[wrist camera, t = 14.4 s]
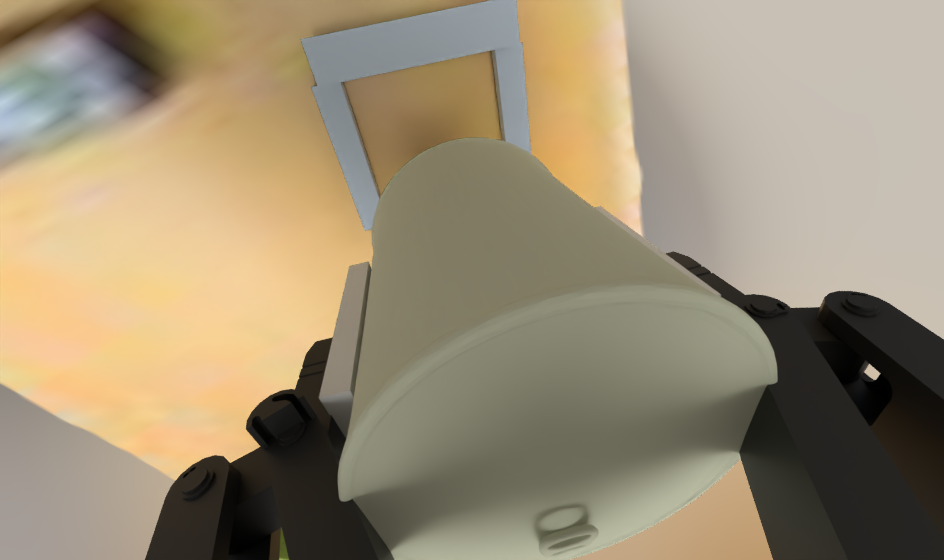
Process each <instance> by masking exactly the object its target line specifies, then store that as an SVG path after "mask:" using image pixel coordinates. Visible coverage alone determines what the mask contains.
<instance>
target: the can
mask: <svg viewBox="0 0 944 560" xmlns="http://www.w3.org/2000/svg"><path fill="white" fill-rule="evenodd" d="M372 245H373V260H372V269H371V277H370V285H369V293H368V300H367V308H366V316H365V324H364V331H363V338H362V345H361V352H360V358H359V365H358V372H357V379H356V386H355V392H354V399H353V406H352V412H351V419H350V424H349V429H348V434H347V439H346V442H345V445H344V448H343V451H342V455H341V458H340V462H339V469H338V492H339V499H340V500H341V501H344V502H345V501H349V500H351V499H353V500H354V501H355V503H356V504H357V505H358V507H359V508H360V509H361V511H362V512H363V513H364V515H365V516H366V517H367V519H368V520H369V522H370V523H371V524H372V526H373V527H374V529H375V530H376V531H377V533H378V534H379V536H380V537H381V538H382V540H383V541H384V543H385V544H386V545H387V547H388V548H389V550H390V551H391V553H392V555H393V558H394V560H570V559H573V558H577V557H580V556H583V555H586V554H589V553H592V552H595V551H598V550H600V549H604V548H606V547H609V546H611V545H614V544H616V543H618V542H621V541H623V540H626V539H628V538H630V537H632V536H634V535H636V534H638V533H640V532H642V531H644V530H646V529H648V528H650V527H652V526H653V525H655V524H657V523H659V522H661V521H662V520H664V519H666V518H668V517H670V516H671V515H673V514H674V513H676V512H677V511H679V510H680V509H682V508H684V507H685V506H687V505H688V504H689V503H691V502H692V501H694V500H695V499H696V498H698V497H699V496H701V495H702V494H703V493H704V492H705V491H707V490H708V489H709V488H710V487H711V486H713V485H714V484H715V483H716V482H718V481H719V480H720V479H721V478H722V477H723V476H724V475H725V474H726V473H727V472H728V471H729V470H730V469H731V468H732V467H733V466H734V465H735V464H736V463H737V462H738V461H739V460H740V458H741V457H740V454H739V452H740V449H741V446H742V443H743V440H744V437H745V435H746V432H747V430H748V427H749V425H750V422H751V420H752V417H753V415H754V413H755V410H756V408H757V406H758V403H759V401H760V399H761V397H762V395H763V392H764V390H765V388H766V386H767V385H768V384H769V385H770V384H774V383H776V382H777V380H778V378H777V363H776V359H775V354H774V350H773V348H772V346H771V344H770V342H769V339H768V338H767V336H766V335H765V333H764V332H763V330H762V329H761V328H760V326H759V325H758V324H757V323H756V322H755V321H754V320H753V319H752V318H751V317H750V316H749V315H748V314H747V313H746V312H744V311H743V310H742V309H740V308H739V307H737V306H736V305H734V304H732V303H731V302H729V301H727V300H725V299H724V298H722V297H720V296H718V295H715V294H713V293H712V292H710V291H708V290H707V289H705V288H704V287H702V286H701V285H699V284H698V283H696V282H695V281H693V280H692V279H691V278H689V277H688V276H686V275H685V274H684V273H682V272H681V271H679V270H678V269H677V268H675V267H674V266H672V265H671V264H669V263H668V262H667V261H665V260H664V259H662V258H661V257H660V256H658V255H657V254H656V253H654V252H653V251H652V250H650V249H649V248H648V247H646V246H645V245H644V244H642V243H641V242H639V241H638V240H637V239H635V238H634V237H633V236H631V235H630V234H629V233H627V232H626V231H625V230H623V229H622V228H621V227H619V226H618V225H617V224H615V223H614V222H613V221H611V220H610V219H609V218H607V217H606V216H604V215H603V214H602V213H600V212H599V211H598V210H596V209H595V208H594V207H592V206H591V205H590V204H588V203H587V202H586V201H584V200H583V199H582V198H580V197H579V196H578V195H576V194H575V193H574V192H573V191H571V190H570V189H569V188H567V187H566V186H565V185H564V184H562V183H561V182H560V181H559V180H557V179H556V178H555V177H553V176H552V174H551V173H550V171H549V170H548V169H547V168H546V167H545V166H544V165H543V164H542V163H541V162H540V161H539V160H538V159H537V158H536V157H534V156H533V155H532V154H530V153H529V152H527V151H525V150H524V149H522V148H520V147H518V146H516V145H513V144H511V143H508V142H505V141H501V140H497V139H491V138H481V137H471V138H462V139H456V140H451V141H447V142H444V143H441V144H439V145H436V146H434V147H431V148H429V149H427V150H425V151H424V152H422V153H420V154H419V155H417V156H416V157H414V158H413V159H411V160H410V161H409V162H408V163H407V164H405V165H404V166H403V167H402V168H401V169H400V170H399V171H398V172H397V173H396V175H395V176H394V177H393V178H392V179H391V181H390V182H389V184H388V185H387V187H386V188H385V190H384V192H383V193H382V195H381V197H380V200H379V202H378V205H377V208H376V211H375V215H374V219H373V226H372Z"/></svg>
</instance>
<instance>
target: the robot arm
mask: <svg viewBox="0 0 944 560" xmlns="http://www.w3.org/2000/svg"><path fill="white" fill-rule="evenodd" d="M595 209H596V210H598V211H599V212H600V213H602V214H603V215H604V216H606V217H607V218H609V219H610V220H611V221H613V222H614V223H615V224H617V225H618V226H619V227H621V228H622V229H623V230H625V231H626V232H627V233H629V234H630V235H631V236H633V237H634V238H635V239H637V240H638V241H639V242H641V243H642V244H644V245H645V246H646V247H648V248H649V249H650V250H652V251H653V252H654V253H656V254H657V255H658V256H660V257H661V258H662V259H664V260H665V261H667V262H668V263H669V264H671V265H672V266H674V267H675V268H677V269H678V270H679V271H681V272H682V273H684V274H685V275H686V276H688V277H689V278H691V279H692V280H693V281H695V282H696V283H698V284H699V285H701V286H702V287H704V288H705V289H707V290H708V291H710V292H712V293H713V294H715V295H718V296H720V297H722V298H724V299H725V300H727V301H729V302H731V303H732V304H734V305H736V306H737V307H739V308H740V309H742V310H743V311H744V312H746V313H747V314H748V315H749V316H750V317H751V318H752V319H753V320H754V321H755V322H756V323H757V324H758V325H759V326H760V328H761V329H762V330H763V332H764V333H765V335H766V336H767V338H768V339H769V342H770V344H771V346H772V348H773V350H774V354H775V359H776V363H777V378H778V380H777V382H776V383H774V384H770V385H769V384H768V385H767V386H766V388H765V390H764V392H763V395H762V397H761V399H760V401H759V403H758V406H757V408H756V410H755V413H754V415H753V417H752V420H751V422H750V425H749V427H748V430H747V432H746V435H745V437H744V440H743V443H742V446H741V449H740V452H739V454H740V457H741V461H742V464H743V466H744V470H745V473H746V476H747V479H748V482H749V485H750V489H751V492H752V495H753V498H754V501H755V504H756V507H757V510H758V513H759V517H760V520H761V523H762V526H763V529H764V532H765V535H766V538H767V542H768V545H769V548H770V551H771V554H772V557H773V560H944V339H942V338H941V337H939V336H937V335H936V334H934V333H933V332H931V331H930V330H928V329H927V328H925V327H924V326H922V325H921V324H919V323H918V322H916V321H915V320H913V319H912V318H910V317H909V316H907V315H906V314H904V313H903V312H901V311H900V310H898V309H897V308H895V307H894V306H892V305H891V304H889V303H887V302H885V301H883V300H881V299H879V298H877V297H874V296H871V295H868V294H865V293H860V292H853V291H837V292H833V293H829V294H828V295H827V296H826V297H825V298H824V300H823V302H822V304H821V306H820V307H818V308H817V307H816V308H790V307H789V306H788V305H787V304H785V303H783V302H781V301H780V300H778V299H775V298H772V297H768V296H764V295H755V294H752V295H744V294H743V293H741V292H740V291H738V290H737V289H736V288H734V287H733V286H731V285H730V284H728V283H727V282H725V281H724V280H722V279H721V278H719V277H718V276H716V275H715V274H714V273H711V272H710V271H709V270H708V269H706V268H705V267H701V265H700V264H699V263H697V262H696V261H694V260H693V259H692V258H690V257H688V256H685V255H682V254H679V253H676V252H671V253H666V254H665V253H664V252H662V251H661V250H660V249H658V248H657V247H655V246H654V245H653V244H651V243H650V242H648V241H647V240H646V239H644V238H643V237H642V236H640V235H639V234H638V233H636V232H635V231H634V230H632V229H631V228H629V227H628V226H627V225H625V224H624V223H623V222H621V221H620V220H619V219H617V218H616V217H614V216H613V215H612V214H610V213H609V212H608V211H606V210H605V209H603V208H602V207H601V206H599V207H595ZM370 277H371V267H370V264H369V262H364V263H360V264H356V265H352V266H349V271H348V275H347V279H346V283H345V288H344V292H343V296H342V301H341V305H340V309H339V313H338V318H337V322H336V326H335V331H334V335H333V338H329V339H325V340H321V341H317V342H315V343H314V345H313V346H312V347H311V348H310V350H309V351H308V352H307V354H306V356H305V359H304V362H303V366H302V367H303V369H301V372H300V375H299V378H300V379H298V382H297V385H296V388H295V390H293V389H289V390H282V391H279V392H277V393H275V394H273V395H270V396H269V397H268V398H266V399H265V400H263V401H262V402H260V404H259V405H258V406H257V407H256V408H255V409H254V410H253V411H252V412H251V414H250V416H249V418H248V420H247V425H246V430H247V431H248V432H249V433H250V435H251V436H252V437H253V438H254V439H255V440H256V441H257V443H258V444H259V445H260V446H261V447H259V448H258V449H256V450H254V451H252V452H250V453H248V454H247V455H245V456H243V457H241V458H239V459H237V460H235V461H233V462H232V463H229V462H228V461H227V459H226V458H225V457H224V456H216V455H215V456H211V457H207V458H204V459H202V460H200V461H199V462H197V463H195V464H193V465H192V466H191V467H189V468H188V469H187V470H186V471H185V472H183V473H182V474H181V475H180V476H179V477H178V479H177V480H176V481H175V482H174V483H173V485H172V486H171V488H170V490H169V492H168V494H167V496H166V498H165V501H164V504H163V507H162V510H161V513H160V516H159V519H158V522H157V525H156V528H155V531H154V534H153V537H152V540H151V543H150V546H149V550H148V552H147V555H146V558H145V560H279V555H280V535H281V527H282V531H283V536H284V540H285V544H286V549H287V553H288V557H289V560H394V558H393V555H392V553H391V551H390V550H389V548H388V547H387V545H386V544H385V543H384V541H383V540H382V538H381V537H380V536H379V534H378V533H377V531H376V530H375V529H374V527H373V526H372V524H371V523H370V522H369V520H368V519H367V517H366V516H365V515H364V513H363V512H362V511H361V509H360V508H359V507H358V505H357V504H356V503H355V501H354V500H353V499H351V500H349V501H345V502H344V501H341V500H340V499H339V492H338V469H339V462H340V458H341V455H342V451H343V448H344V445H345V442H346V439H347V434H348V429H349V424H350V419H351V412H352V406H353V399H354V392H355V386H356V379H357V372H358V365H359V358H360V352H361V345H362V338H363V331H364V324H365V316H366V308H367V300H368V293H369V285H370ZM869 364H871V365H872V366H873V367H874V368H875V369H876V370H877V371H879V372H880V373H881V374H880V375H879V377H878V378H877V379H876V380H873V379H872V378H870V377H869V376H868V375H866V374H865V373H864V371H865V370H866V368H867V366H868V365H869Z"/></svg>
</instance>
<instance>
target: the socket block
mask: <svg viewBox="0 0 944 560" xmlns="http://www.w3.org/2000/svg"><path fill="white" fill-rule="evenodd" d="M300 40H301V43H302V45H303V48H304V51H305V54H306V56H307V59H308V62H309V64H310V67H311V70H312V73H313V75H314V78H315V81H316V83H317V85H316V86H312V87H311V89H312V91H313V94H314V97H315V99H316V102H317V105H318V107H319V110H320V113H321V115H322V118H323V121H324V123H325V126H326V129H327V131H328V134H329V137H330V139H331V142H332V145H333V147H334V150H335V152H336V155H337V158H338V160H339V163H340V166H341V168H342V171H343V174H344V176H345V179H346V182H347V184H348V187H349V190H350V192H351V195H352V198H353V200H354V203H355V206H356V208H357V211H358V213H359V216H360V219H361V221H362V224H363V227H364V229H365V231H366V230H371V229H372V226H373V219H374V215H375V211H376V208H377V205H378V202H379V200H380V197H381V196H380V193H379V190H378V187H377V184H376V181H375V178H374V175H373V172H372V169H371V166H370V163H369V160H368V157H367V154H366V151H365V148H364V145H363V142H362V139H361V136H360V133H359V130H358V127H357V124H356V121H355V118H354V114H353V111H352V108H351V105H350V102H349V99H348V96H347V93H346V90H345V87H344V84H343V82H345V81H350V80H354V79H359V78H364V77H369V76H373V75H378V74H383V73H387V72H392V71H397V70H402V69H406V68H411V67H416V66H420V65H425V64H430V63H435V62H439V61H444V60H449V59H453V58H458V57H463V56H468V55H472V54H477V53H482V52H486V51H492V59H493V68H494V76H495V84H496V93H497V101H498V109H499V118H500V126H501V134H502V141H505V142H508V143H511V144H513V145H516V146H518V147H520V148H522V149H524V150H525V151H527V152H529V153H530V154H531V146H530V133H529V120H528V108H527V95H526V82H525V70H524V57H523V44H522V42H520V37H519V25H518V13H517V1H516V0H490V1H485V2H480V3H475V4H470V5H466V6H461V7H456V8H451V9H446V10H441V11H436V12H431V13H426V14H422V15H417V16H412V17H407V18H402V19H397V20H392V21H387V22H382V23H378V24H373V25H368V26H363V27H358V28H353V29H348V30H343V31H338V32H334V33H329V34H324V35H319V36H314V37H309V38H304V39H300Z"/></svg>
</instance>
